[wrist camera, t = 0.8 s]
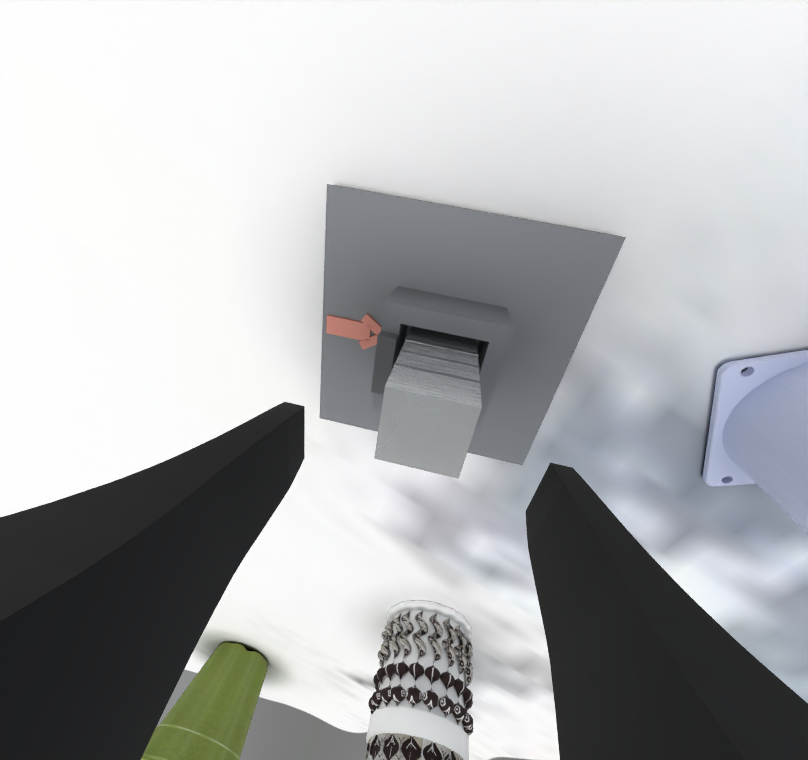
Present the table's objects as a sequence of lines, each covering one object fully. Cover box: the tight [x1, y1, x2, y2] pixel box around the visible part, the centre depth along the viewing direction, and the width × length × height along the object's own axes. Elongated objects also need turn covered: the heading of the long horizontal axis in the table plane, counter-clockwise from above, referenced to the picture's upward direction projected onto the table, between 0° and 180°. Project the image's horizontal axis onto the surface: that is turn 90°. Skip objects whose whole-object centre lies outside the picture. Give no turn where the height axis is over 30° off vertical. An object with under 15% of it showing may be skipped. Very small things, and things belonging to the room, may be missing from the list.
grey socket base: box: [320, 184, 626, 465], centre depth 16 cm, size 13×13×5 cm
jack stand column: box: [375, 326, 482, 478], centre depth 14 cm, size 3×3×7 cm
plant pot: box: [141, 642, 268, 760], centre depth 39 cm, size 12×12×11 cm
